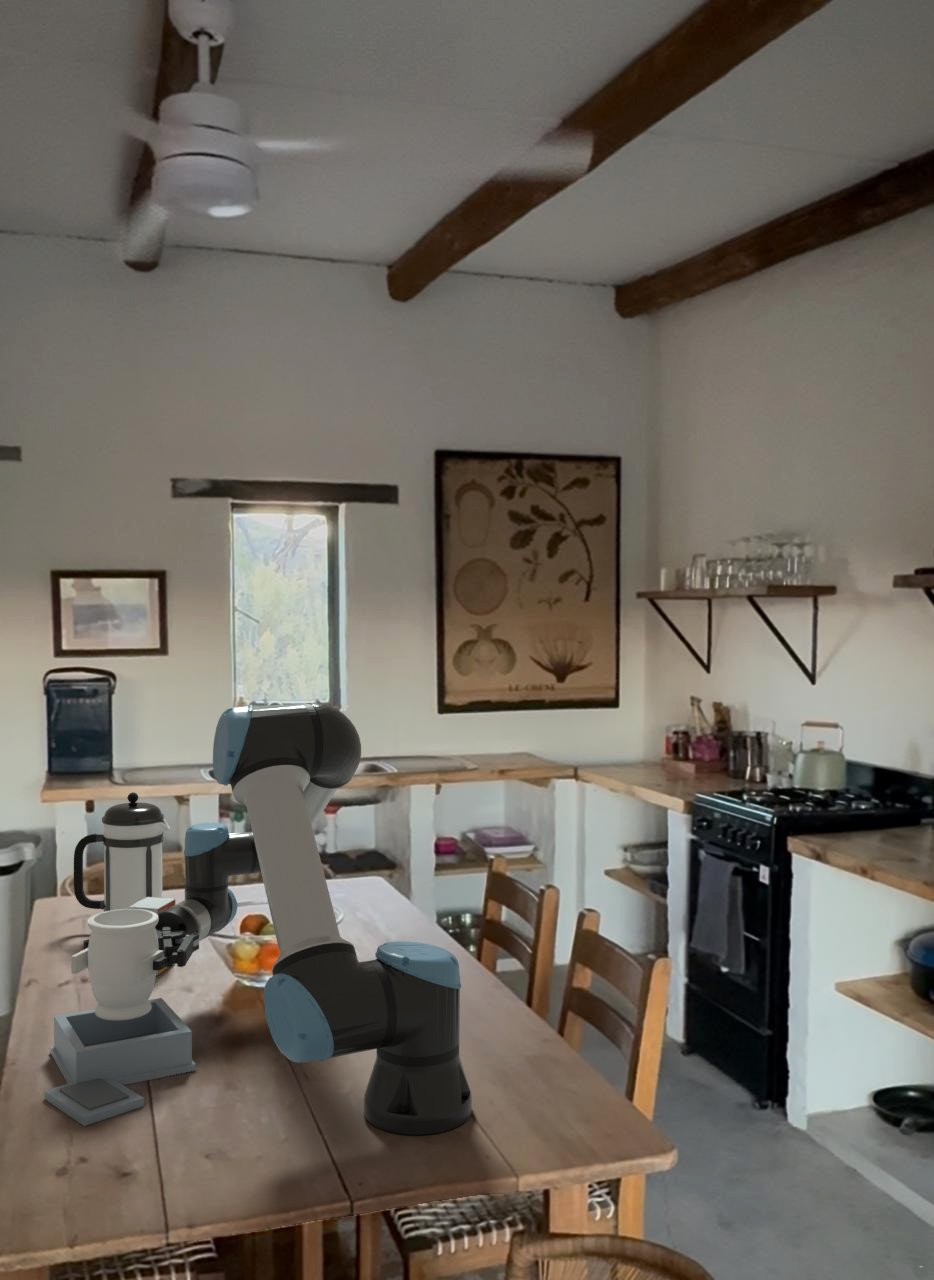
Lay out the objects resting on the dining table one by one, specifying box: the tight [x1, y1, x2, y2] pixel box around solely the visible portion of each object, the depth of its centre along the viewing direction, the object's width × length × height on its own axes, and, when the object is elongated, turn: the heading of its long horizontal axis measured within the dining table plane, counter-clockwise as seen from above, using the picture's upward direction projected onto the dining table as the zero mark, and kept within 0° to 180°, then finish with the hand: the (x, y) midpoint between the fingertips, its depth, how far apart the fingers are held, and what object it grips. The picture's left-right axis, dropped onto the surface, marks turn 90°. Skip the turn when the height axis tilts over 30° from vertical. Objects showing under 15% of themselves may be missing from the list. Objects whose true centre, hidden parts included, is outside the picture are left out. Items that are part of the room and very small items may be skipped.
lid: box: [44, 1078, 145, 1127], centre depth 167 cm, size 12×9×2 cm
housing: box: [49, 997, 197, 1086], centre depth 182 cm, size 18×18×6 cm
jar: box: [87, 909, 159, 1021], centre depth 182 cm, size 11×10×15 cm
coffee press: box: [73, 792, 171, 912], centre depth 252 cm, size 17×16×30 cm
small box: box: [128, 897, 176, 976], centre depth 227 cm, size 8×6×13 cm
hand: (105, 968), depth 177 cm, fingers closed on jar, 10 cm apart
